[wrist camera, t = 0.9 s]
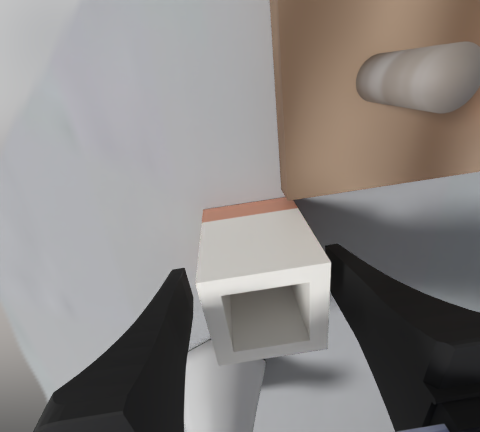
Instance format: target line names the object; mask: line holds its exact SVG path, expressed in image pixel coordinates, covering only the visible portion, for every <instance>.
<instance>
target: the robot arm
mask: <svg viewBox="0 0 480 432" xmlns="http://www.w3.org/2000/svg"><path fill="white" fill-rule="evenodd" d="M325 253H326V255H327V257H328V258H329V260H330V261H331V277H330V291H331V294H332V296H333V297H334V299H335V301H336V303H337V304H338V306H339V308H340V310H341V311H342V313H343V315H344V317H345V318H346V320H347V322H348V324H349V325H350V327H351V329H352V331H353V332H354V334H355V336H356V338H357V340H358V342H359V344H360V346H361V349H362V351H363V353H364V355H365V358H366V360H367V362H368V364H369V367H370V369H371V371H372V374H373V376H374V378H375V381H376V383H377V386H378V388H379V391H380V393H381V396H382V398H383V401H384V403H385V406H386V408H387V411H388V414H389V416H390V419H391V421H392V424H393V427H394V429H395V432H480V313H479V312H475V311H472V310H469V309H466V308H463V307H460V306H457V305H453V304H451V303H448V302H445V301H442V300H440V299H437V298H434V297H432V296H430V295H427V294H425V293H422V292H420V291H418V290H415V289H413V288H411V287H409V286H407V285H405V284H403V283H401V282H398V281H397V280H395V279H393V278H391V277H389V276H387V275H386V274H384V273H382V272H380V271H379V270H377V269H375V268H374V267H372V266H370V265H369V264H367V263H366V262H364V261H362V260H361V259H359V258H358V257H356V256H355V255H353V254H352V253H350V252H349V251H348V250H346V249H345V248H343V247H342V246H340V245H338V244H333V245H327V246H325ZM192 320H193V295H192V291H191V288H190V285H189V281H188V278H187V275H186V271H185V268H180V269H174V270H172V271H171V272H170V274H169V275H168V277H167V279H166V280H165V282H164V283H163V285H162V286H161V288H160V289H159V291H158V292H157V294H156V295H155V296H154V298H153V299H152V301H151V302H150V303H149V305H148V306H147V307H146V309H145V310H144V311H143V313H142V314H141V315H140V316H139V318H138V319H137V320H136V321H135V322H134V324H133V325H132V326H131V327H130V328H129V329H128V330H127V331H126V332H125V333H124V334H123V335H122V336H121V337H120V338H119V339H118V340H117V341H116V342H115V343H114V344H113V345H112V346H111V347H110V348H109V349H108V350H107V351H106V352H105V353H104V354H102V355H101V356H100V357H99V358H98V359H97V360H96V361H94V362H93V363H92V364H91V365H89V366H88V367H87V368H86V369H85V370H83V371H82V372H81V373H80V374H78V375H77V376H76V377H74V378H73V379H71V380H70V381H69V382H67V383H66V384H65V385H63V386H62V387H61V388H59V389H58V390H57V391H55V392H54V393H53V394H52V396H51V398H50V400H49V402H48V403H47V405H46V407H45V409H44V411H43V413H42V415H41V417H40V419H39V421H38V423H37V425H36V427H35V429H34V431H33V432H184V400H185V376H186V363H187V355H188V348H189V341H190V334H191V327H192Z"/></svg>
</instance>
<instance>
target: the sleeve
mask: <svg viewBox="0 0 480 432" xmlns="http://www.w3.org/2000/svg"><path fill="white" fill-rule="evenodd" d="M330 277H331V261H330V260H329V258H328V257H327V255H326V253H325V252H324V250H323V248H322V247H321V245H320V243H319V242H318V240H317V239H316V237H315V235H314V234H313V232H312V230H311V229H310V227H309V225H308V224H307V222H306V221H305V219H304V217H303V216H302V214H301V212H300V211H299V209H298V207H297V206H296V204H295V203H294V201H293V200H290V201H288V200H287V198H286V197H283V198H276V199H270V200H263V201H257V202H250V203H244V204H237V205H231V206H224V207H218V208H211V209H205V210H203V216H202V226H201V235H200V245H199V254H198V264H197V273H196V283H195V284H196V287H197V291H198V294H199V298H200V301H201V305H202V308H203V312H204V316H205V319H206V323H207V326H208V330H209V333H210V337H211V340H212V344H213V347H214V351H215V355H216V358H217V362H218V365H219V366H222V365H228V364H235V363H241V362H247V361H254V360H260V359H267V358H273V357H279V356H286V355H292V354H299V353H305V352H311V351H318V350H324V349H328V325H329V301H330Z"/></svg>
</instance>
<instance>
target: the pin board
mask: <svg viewBox="0 0 480 432" xmlns="http://www.w3.org/2000/svg"><path fill="white" fill-rule="evenodd" d="M270 11H271V28H272V44H273V60H274V76H275V93H276V109H277V125H278V142H279V158H280V174H281V190H282V191H283V193H284V195H285V197H286V198H287V200H288V201H290V200H296V199H303V198H309V197H316V196H322V195H329V194H336V193H342V192H349V191H355V190H362V189H368V188H375V187H381V186H388V185H394V184H401V183H407V182H414V181H420V180H427V179H433V178H440V177H447V176H453V175H460V174H466V173H473V172H479V171H480V0H270Z"/></svg>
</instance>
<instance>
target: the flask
mask: <svg viewBox="0 0 480 432" xmlns="http://www.w3.org/2000/svg"><path fill="white" fill-rule="evenodd" d="M265 366H266V362H265V361H264V360H263V359H260V360H254V361H247V362H241V363H235V364H228V365H222V366H219V365H218V362H217V358H216V355H215V351H214V347H213V344H212V340H209V341H207V342H205V343H203V344H202V345H200V346H198V347H196V348H194V349H193V350H191V351H189V352H188V355H187V363H186V376H185V400H184V424H185V429H186V432H253V427H254V422H255V416H256V410H257V405H258V401H259V396H260V391H261V386H262V382H263V377H264V372H265Z"/></svg>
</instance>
